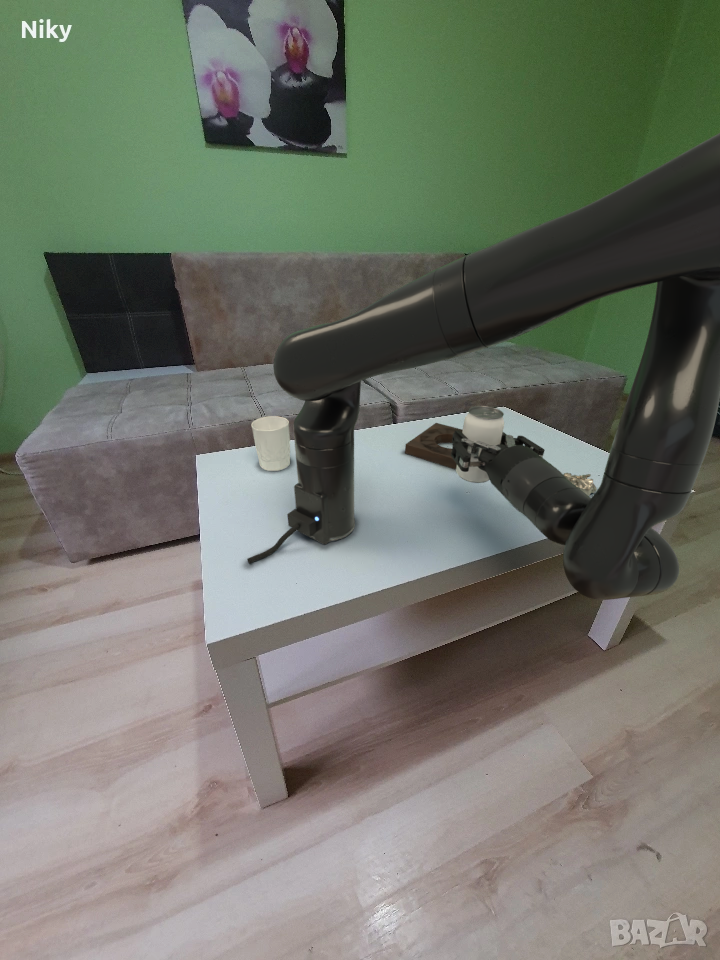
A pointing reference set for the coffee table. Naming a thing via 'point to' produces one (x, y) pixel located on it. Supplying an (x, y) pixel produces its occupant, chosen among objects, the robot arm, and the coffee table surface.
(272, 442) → the white cup
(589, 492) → the ornament
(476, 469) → the can
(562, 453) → the coffee table surface
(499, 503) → the coffee table surface
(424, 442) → the base pad
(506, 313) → the robot arm
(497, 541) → the coffee table surface
